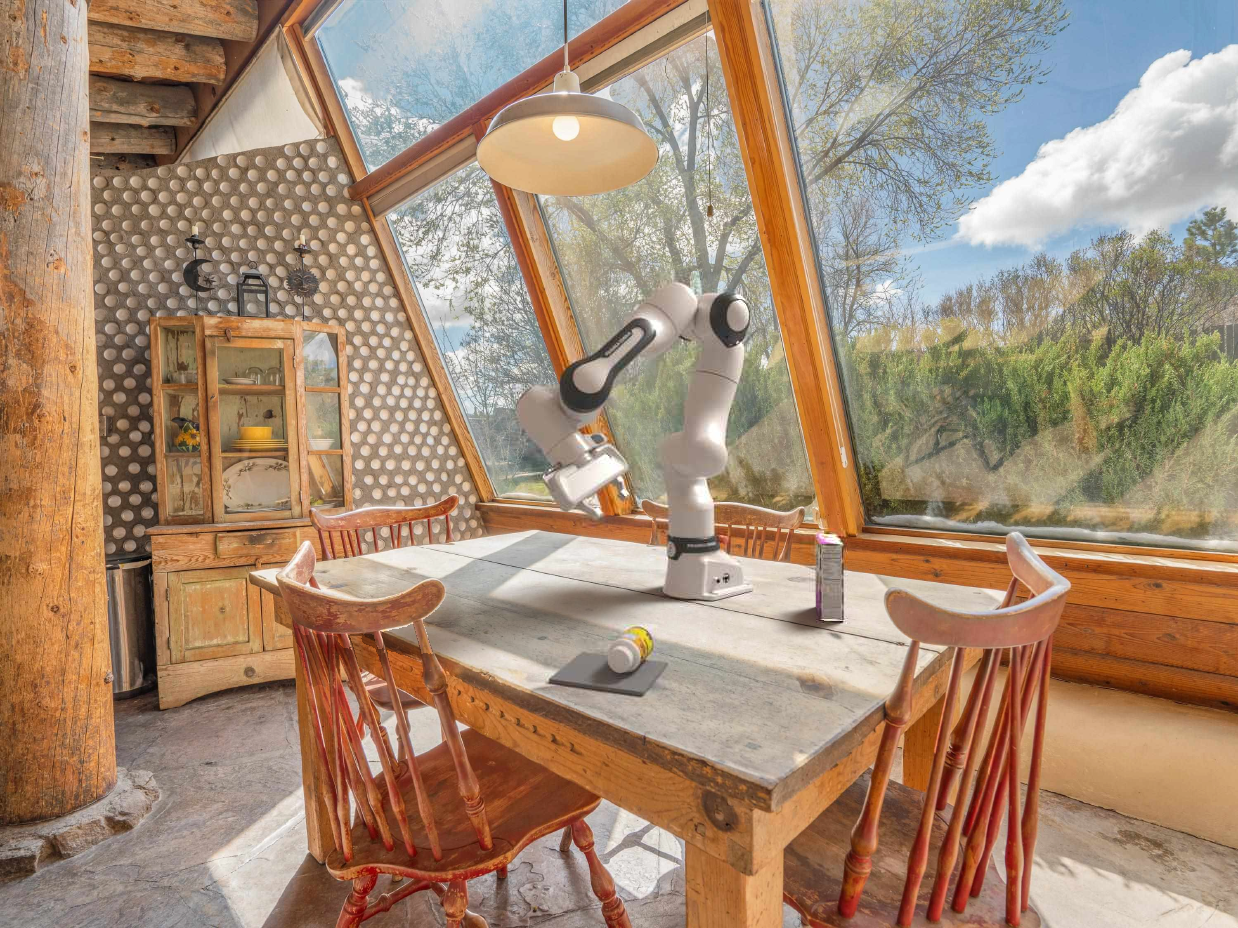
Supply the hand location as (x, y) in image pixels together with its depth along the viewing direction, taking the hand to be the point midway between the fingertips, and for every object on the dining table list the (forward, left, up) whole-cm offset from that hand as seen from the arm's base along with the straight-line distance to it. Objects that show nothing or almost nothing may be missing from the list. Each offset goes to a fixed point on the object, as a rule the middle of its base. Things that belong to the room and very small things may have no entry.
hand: (613, 507), depth 132 cm
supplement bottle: (+5, +20, -21) cm, 29 cm away
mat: (+13, +23, -24) cm, 36 cm away
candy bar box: (-43, +16, -24) cm, 52 cm away
